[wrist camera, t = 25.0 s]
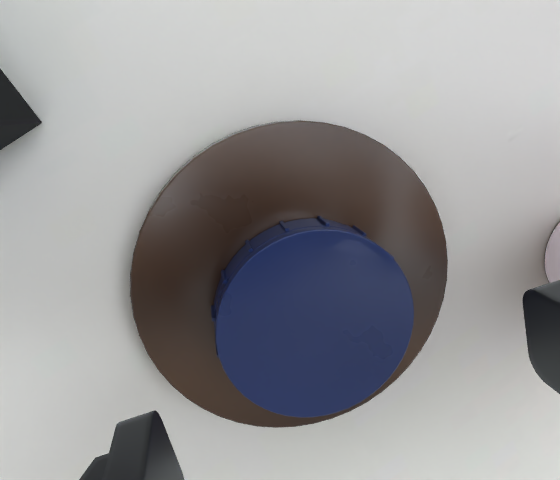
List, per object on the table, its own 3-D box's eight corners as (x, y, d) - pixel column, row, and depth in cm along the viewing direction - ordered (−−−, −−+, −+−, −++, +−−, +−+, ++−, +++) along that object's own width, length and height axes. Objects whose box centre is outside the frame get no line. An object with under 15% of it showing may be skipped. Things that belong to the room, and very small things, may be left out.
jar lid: (172, 329, 14) (170, 352, 13) (296, 176, 14) (307, 184, 12) (315, 421, 16) (327, 450, 15) (430, 288, 15) (453, 306, 14)
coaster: (457, 364, 17) (466, 373, 17) (189, 455, 16) (189, 468, 16) (413, 83, 14) (422, 81, 14) (82, 172, 13) (76, 174, 13)
